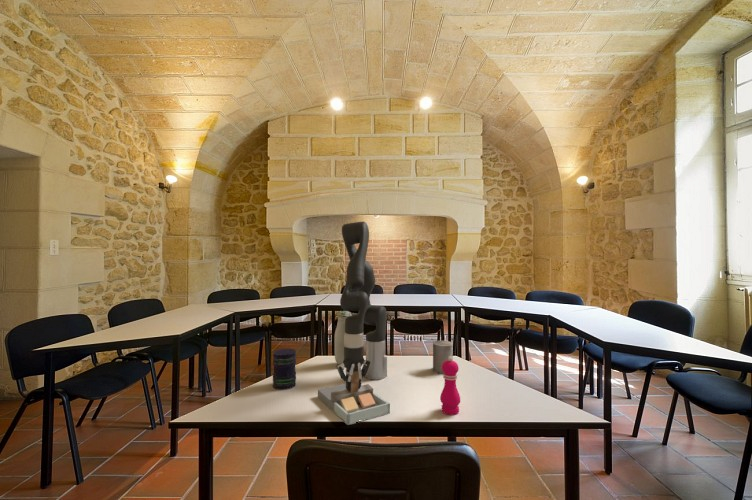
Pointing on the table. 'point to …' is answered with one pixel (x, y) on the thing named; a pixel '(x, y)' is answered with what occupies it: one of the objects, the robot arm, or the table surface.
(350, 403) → the tile
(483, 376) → the table surface
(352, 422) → the tray
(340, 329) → the grey bottle
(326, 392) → the board
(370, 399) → the tile
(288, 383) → the storage jar
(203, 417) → the table surface
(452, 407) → the pepper mill
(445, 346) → the pillar candle
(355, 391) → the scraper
